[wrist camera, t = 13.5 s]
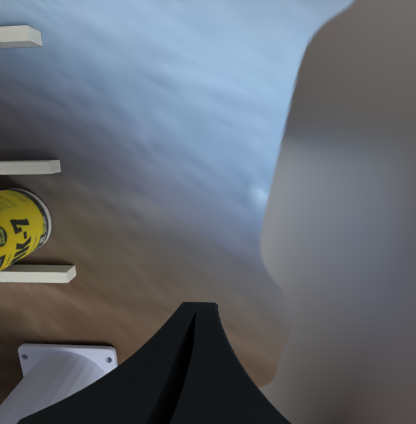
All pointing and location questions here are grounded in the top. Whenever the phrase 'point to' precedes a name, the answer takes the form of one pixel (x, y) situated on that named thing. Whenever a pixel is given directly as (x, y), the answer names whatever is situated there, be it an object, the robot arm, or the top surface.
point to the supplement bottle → (21, 225)
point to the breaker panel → (30, 273)
